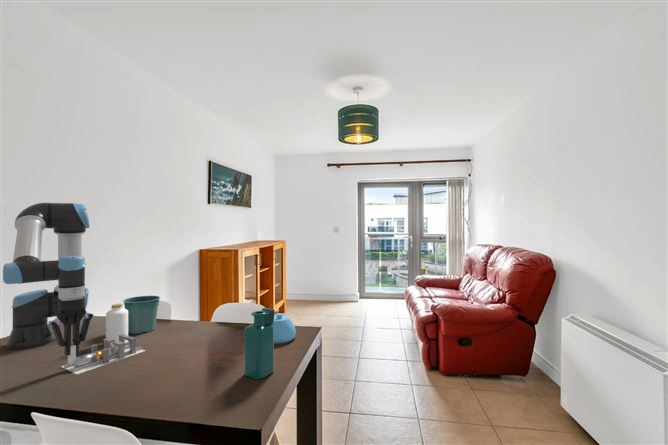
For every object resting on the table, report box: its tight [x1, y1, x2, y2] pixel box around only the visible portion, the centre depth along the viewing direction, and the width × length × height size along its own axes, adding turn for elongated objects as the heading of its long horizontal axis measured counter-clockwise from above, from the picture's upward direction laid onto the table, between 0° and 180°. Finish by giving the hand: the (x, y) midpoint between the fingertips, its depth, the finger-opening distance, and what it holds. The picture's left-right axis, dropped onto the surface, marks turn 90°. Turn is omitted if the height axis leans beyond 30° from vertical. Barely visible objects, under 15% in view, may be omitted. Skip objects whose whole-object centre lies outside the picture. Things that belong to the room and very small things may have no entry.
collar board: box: [60, 334, 146, 375], centre depth 125 cm, size 13×24×7 cm, turn 150°
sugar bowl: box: [272, 312, 297, 345], centre depth 148 cm, size 15×15×12 cm
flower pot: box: [122, 295, 161, 335], centre depth 162 cm, size 16×16×16 cm
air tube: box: [73, 346, 118, 368], centre depth 122 cm, size 14×4×4 cm, turn 150°
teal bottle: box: [243, 307, 276, 380], centre depth 114 cm, size 10×8×22 cm
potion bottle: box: [105, 303, 129, 347], centre depth 142 cm, size 8×8×18 cm
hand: (71, 363), depth 116 cm, fingers closed
